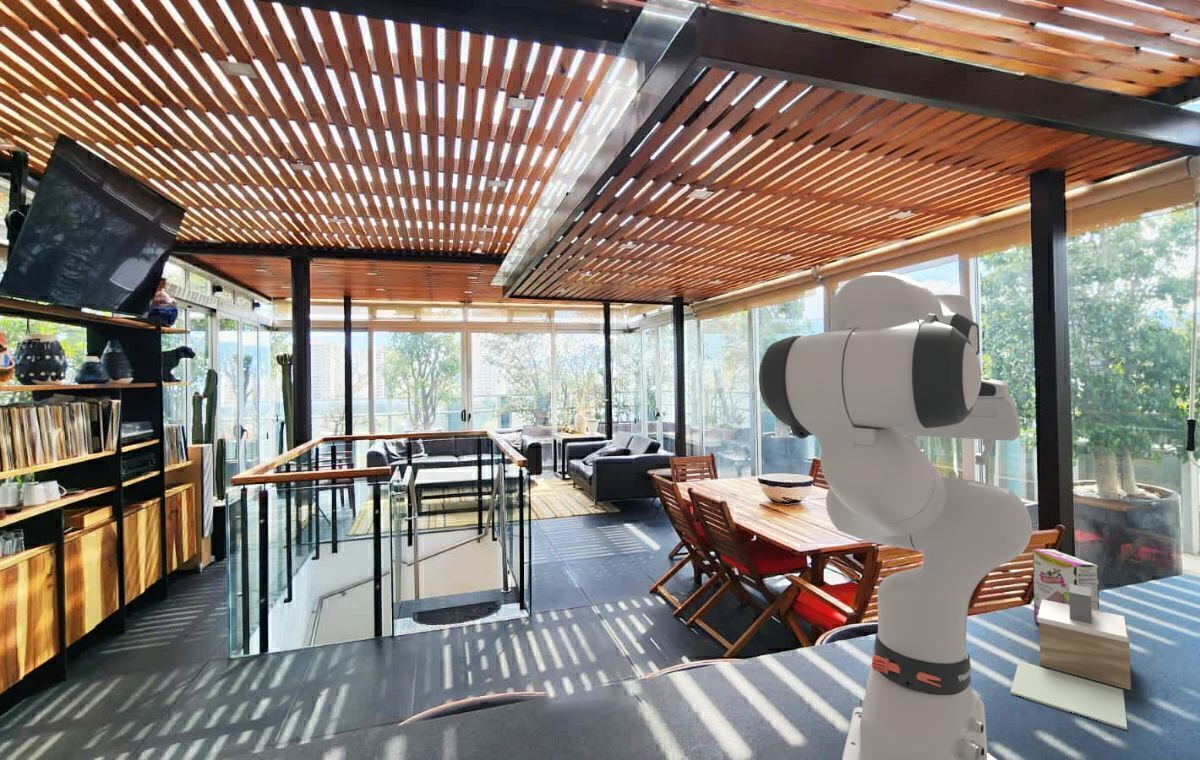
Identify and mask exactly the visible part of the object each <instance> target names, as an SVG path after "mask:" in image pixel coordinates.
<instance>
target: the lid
mask: <svg viewBox="0 0 1200 760" xmlns="http://www.w3.org/2000/svg"><path fill="white" fill-rule="evenodd" d="M1069 604H1070V605H1067V604H1063V603H1058V602H1053V601H1048V600H1043V599H1042V601H1041V605H1040V609H1039V613H1038V623H1037V624H1039V623H1043V624H1047V625H1051V626H1056V627H1060V628H1064V629H1069V630H1073V631H1077V632H1082V633H1086V634H1091V635H1095V636H1099V637H1104V638H1108V639H1112V640H1117V641H1121V642H1125V643H1128V642H1127V632H1126V625H1127V624H1126V625H1125V622H1126V620H1125V616H1124V615H1122V614H1120V615H1119V614H1115V613H1111V612H1105V611H1100V610H1099V611H1097V610H1092V607H1091V588H1089V587H1084V586H1078V585H1073V584H1070V589H1069Z"/></svg>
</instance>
